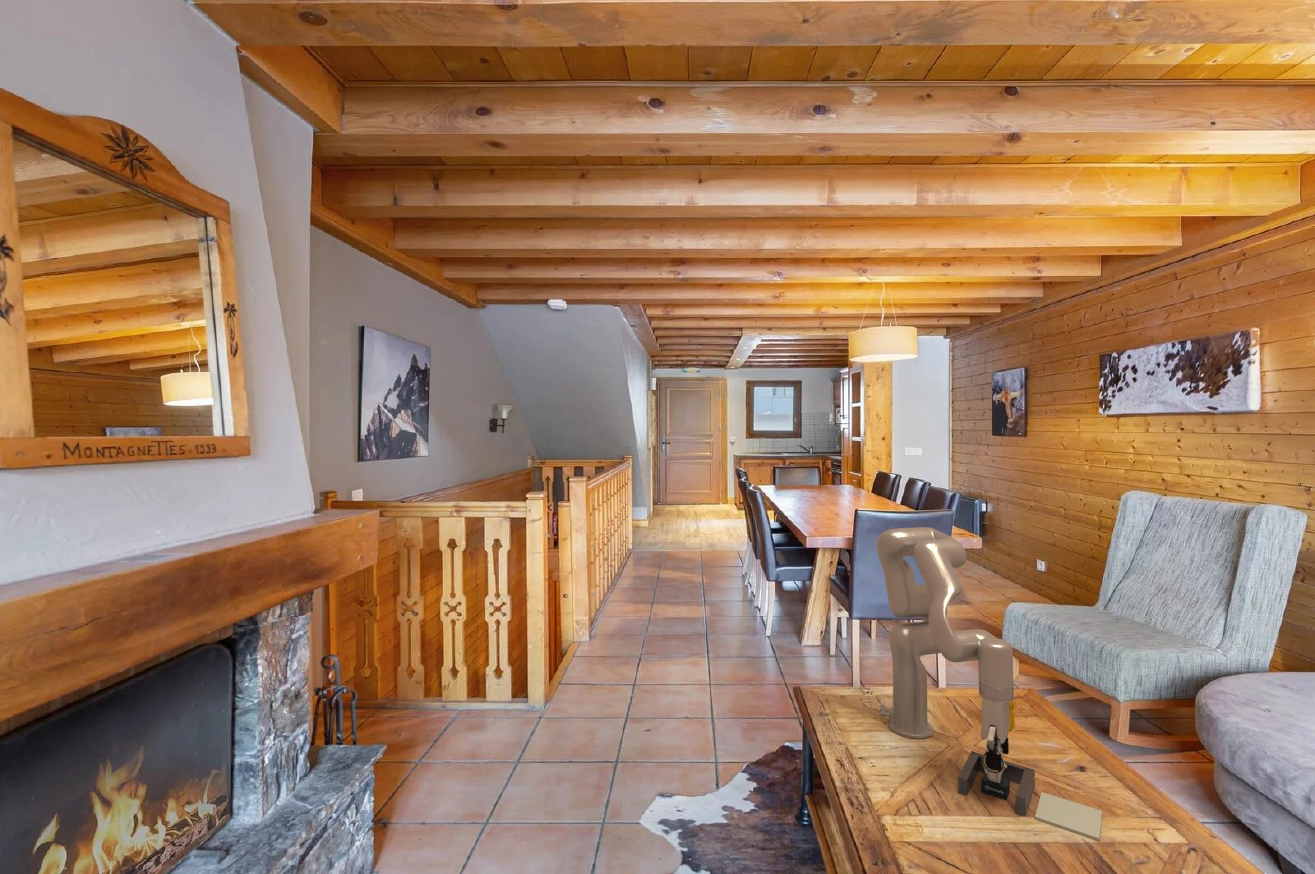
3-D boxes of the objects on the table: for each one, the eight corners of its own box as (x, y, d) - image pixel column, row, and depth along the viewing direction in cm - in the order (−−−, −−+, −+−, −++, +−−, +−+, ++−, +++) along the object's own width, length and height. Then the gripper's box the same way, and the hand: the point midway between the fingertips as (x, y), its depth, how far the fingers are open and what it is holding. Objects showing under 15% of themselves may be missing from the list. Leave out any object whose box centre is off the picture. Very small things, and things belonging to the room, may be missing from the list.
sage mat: (1035, 818, 138) (1035, 816, 138) (1041, 794, 148) (1041, 791, 148) (1099, 840, 131) (1099, 838, 131) (1102, 813, 140) (1102, 810, 140)
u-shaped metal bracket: (958, 792, 148) (958, 776, 148) (971, 765, 160) (971, 750, 160) (1025, 815, 139) (1025, 798, 139) (1034, 785, 151) (1034, 769, 151)
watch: (979, 795, 147) (979, 751, 147) (986, 780, 153) (986, 737, 153) (1005, 804, 144) (1005, 758, 144) (1011, 788, 150) (1011, 745, 150)
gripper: (985, 676, 157) (987, 742, 157) (971, 698, 144) (973, 770, 143) (1019, 682, 153) (1020, 750, 152) (1007, 706, 139) (1009, 781, 139)
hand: (997, 760), depth 148 cm, fingers open, 9 cm apart
